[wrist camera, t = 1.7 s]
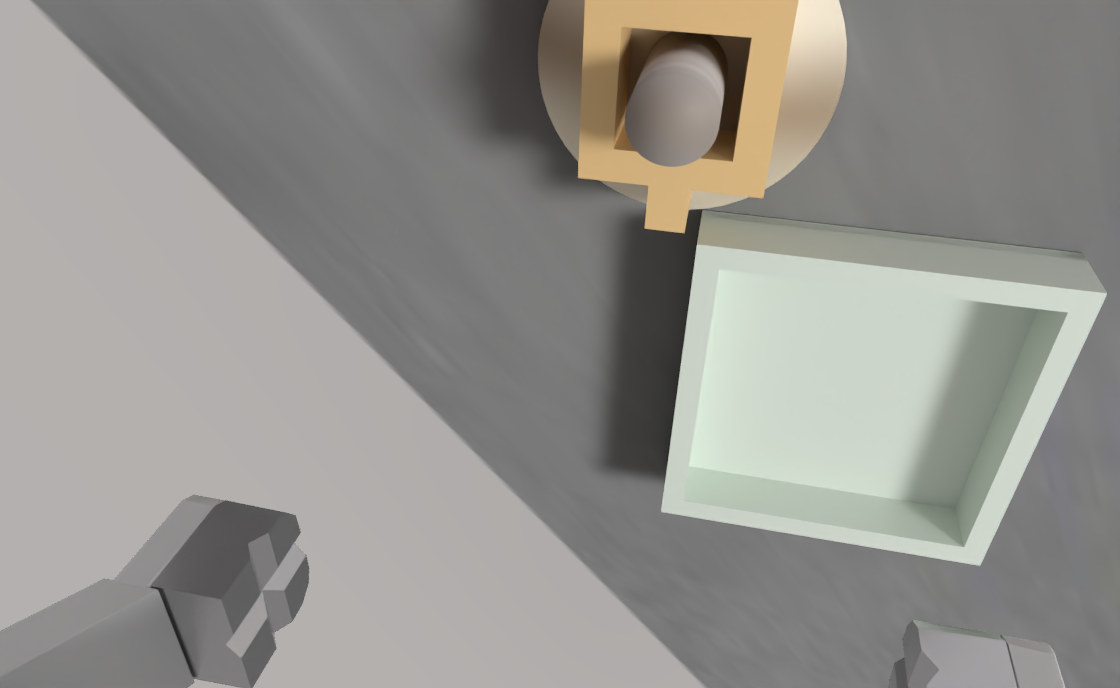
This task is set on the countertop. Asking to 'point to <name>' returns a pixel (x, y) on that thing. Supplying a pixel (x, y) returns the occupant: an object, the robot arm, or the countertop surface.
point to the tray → (869, 380)
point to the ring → (736, 156)
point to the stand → (697, 89)
